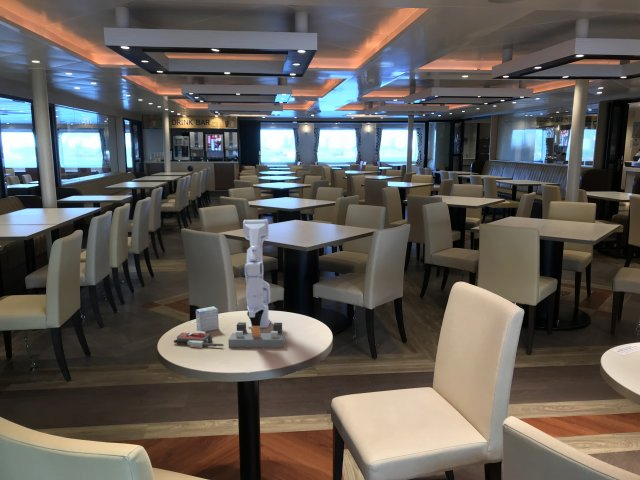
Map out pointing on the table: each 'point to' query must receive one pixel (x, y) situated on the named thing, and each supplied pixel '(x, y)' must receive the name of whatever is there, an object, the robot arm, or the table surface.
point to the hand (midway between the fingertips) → (256, 330)
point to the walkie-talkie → (195, 339)
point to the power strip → (257, 340)
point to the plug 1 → (241, 327)
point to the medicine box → (207, 319)
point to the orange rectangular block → (255, 331)
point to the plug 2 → (277, 327)
